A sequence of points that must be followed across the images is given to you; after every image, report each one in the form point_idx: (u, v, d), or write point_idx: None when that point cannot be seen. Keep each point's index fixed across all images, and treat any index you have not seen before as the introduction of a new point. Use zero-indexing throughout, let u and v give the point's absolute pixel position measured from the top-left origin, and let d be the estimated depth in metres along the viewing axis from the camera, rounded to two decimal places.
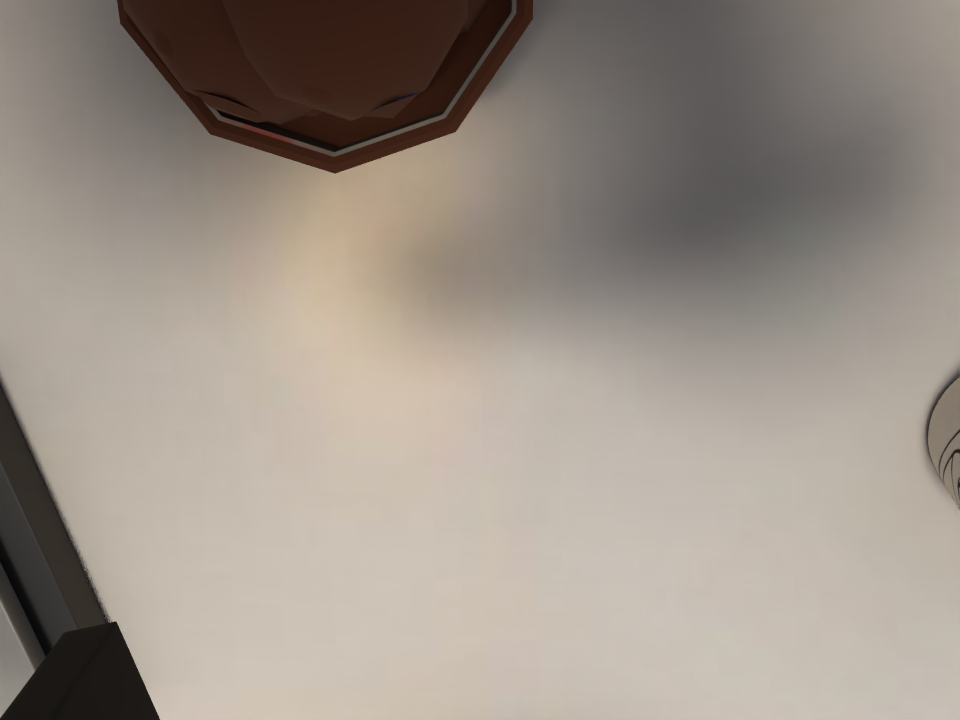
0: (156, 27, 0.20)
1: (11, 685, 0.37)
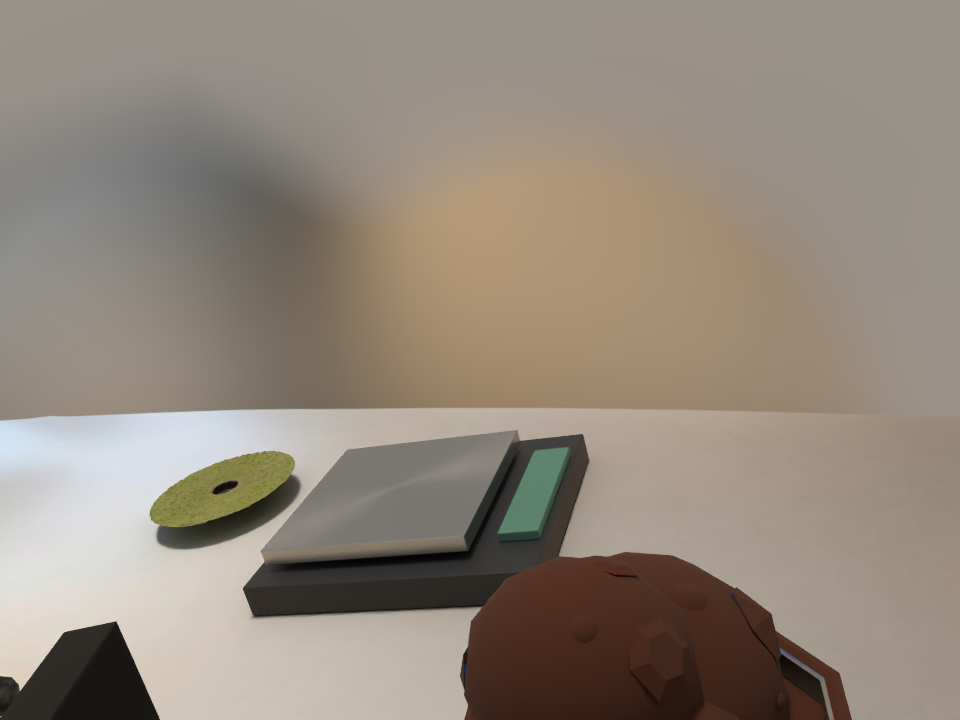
0: None
1: (316, 535, 0.53)
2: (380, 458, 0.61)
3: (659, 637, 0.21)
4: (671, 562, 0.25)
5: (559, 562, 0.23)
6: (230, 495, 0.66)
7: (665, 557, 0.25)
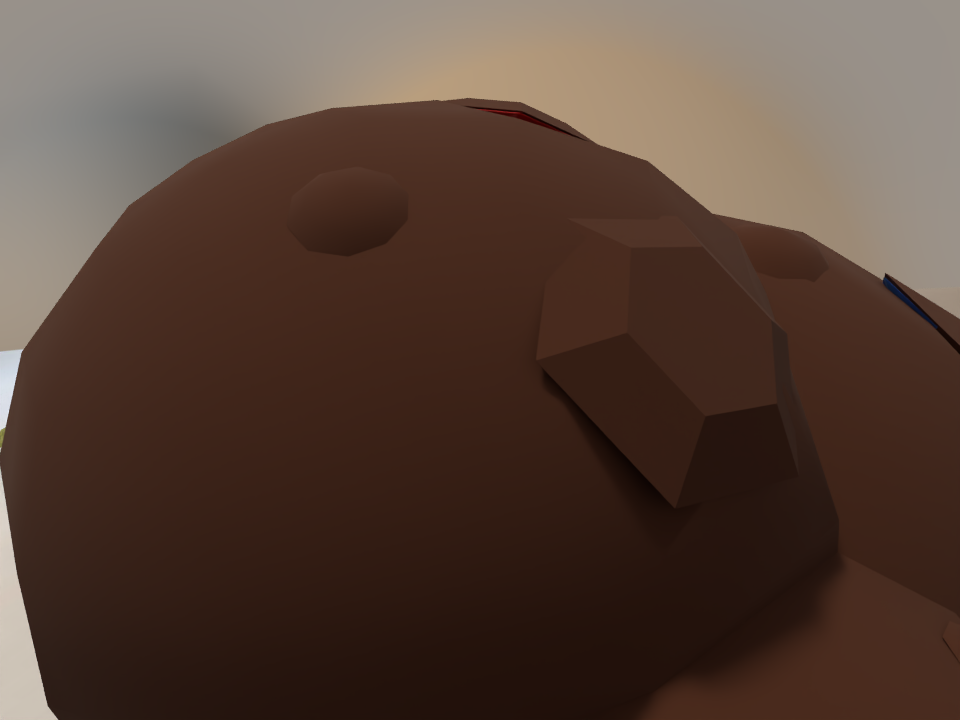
0: None
1: None
2: None
3: (675, 265, 0.05)
4: None
5: None
6: None
7: None
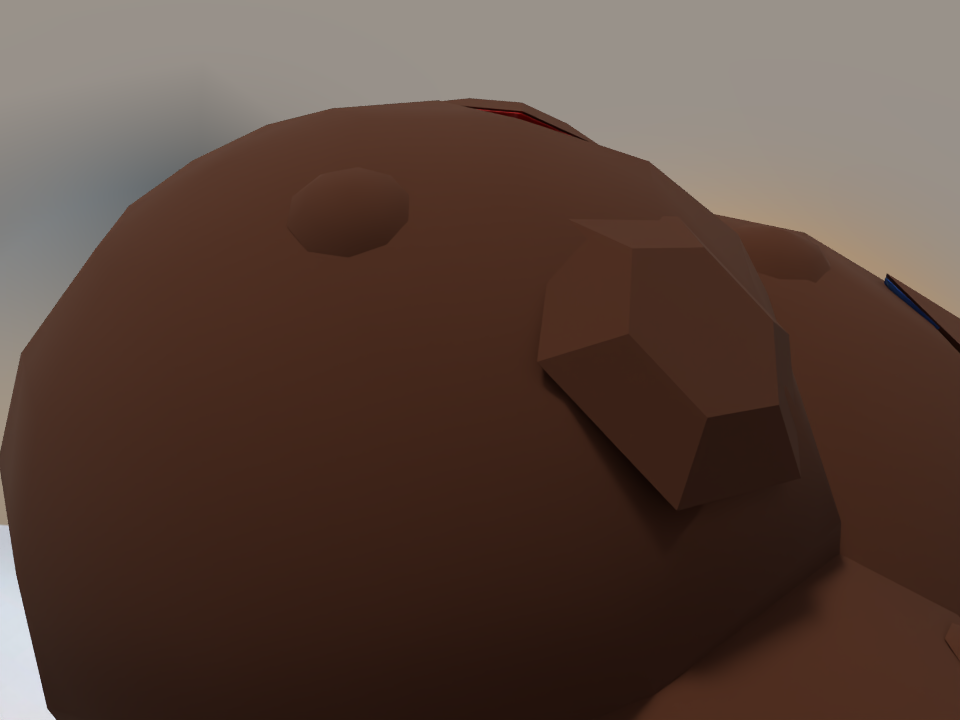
0: None
1: None
2: None
3: (678, 265, 0.05)
4: None
5: None
6: None
7: None
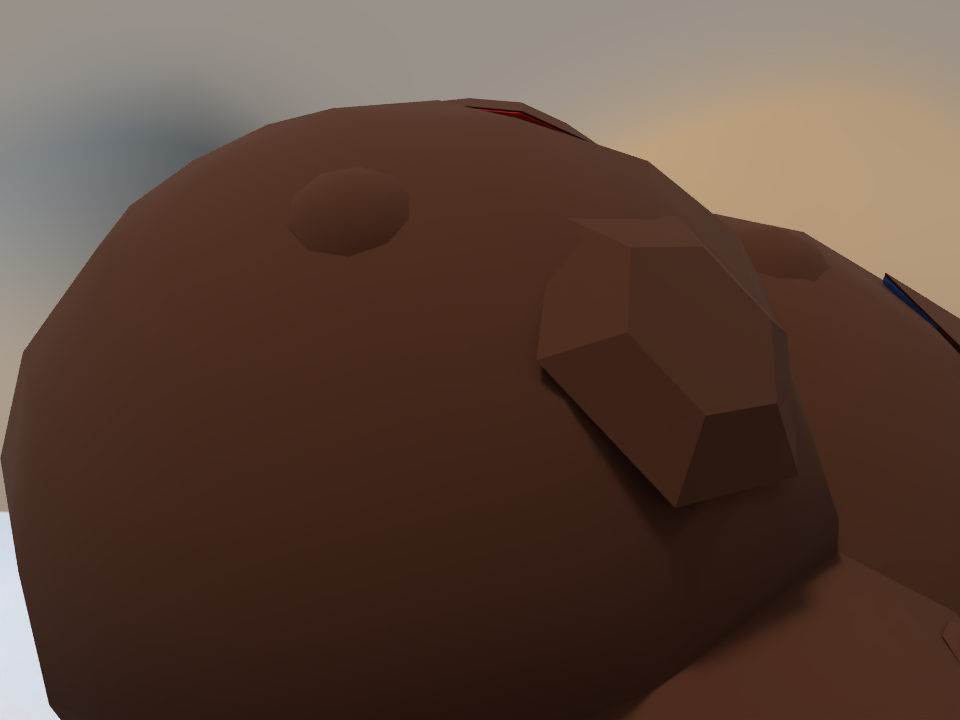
0: None
1: None
2: None
3: (675, 265, 0.05)
4: None
5: None
6: None
7: None
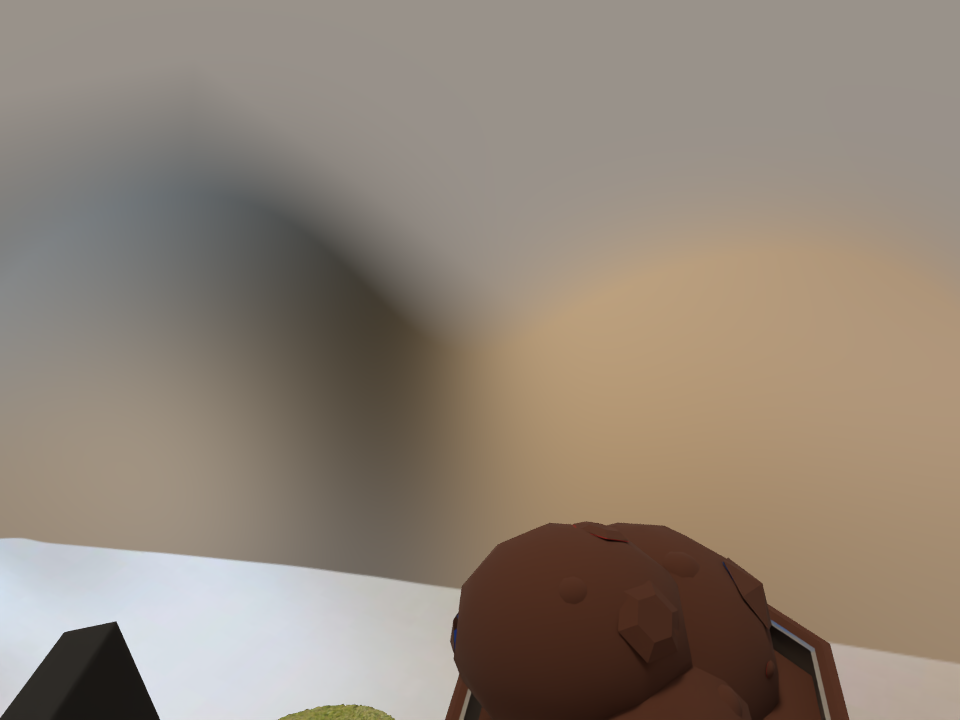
0: None
1: None
2: None
3: (648, 600, 0.21)
4: (663, 531, 0.25)
5: (550, 527, 0.23)
6: None
7: (657, 527, 0.25)
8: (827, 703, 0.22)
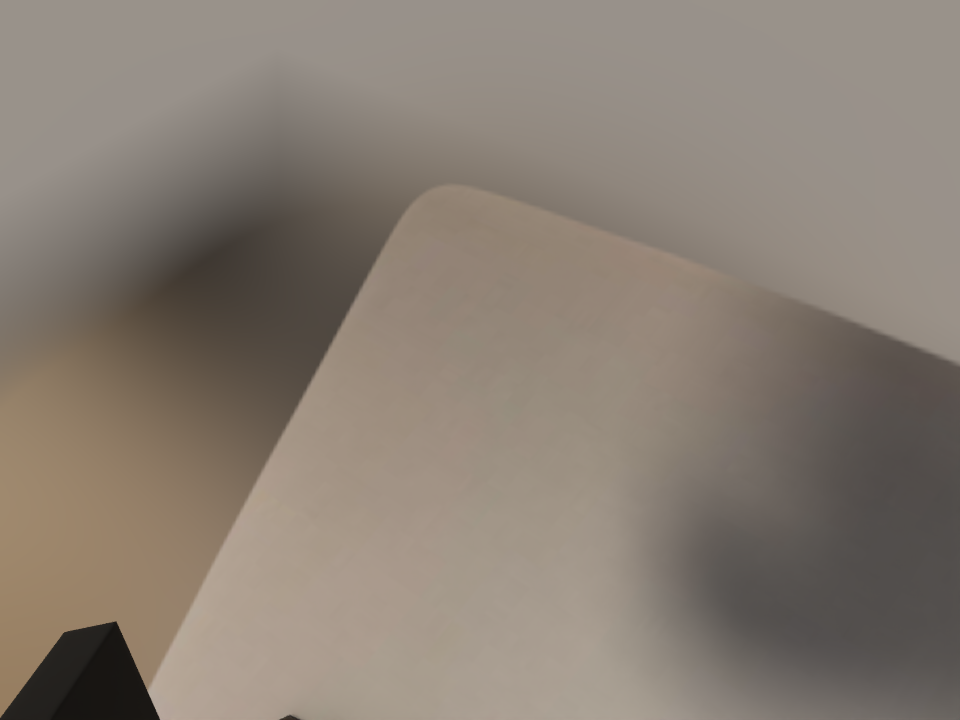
0: None
1: None
2: None
3: None
4: None
5: None
6: None
7: None
8: None
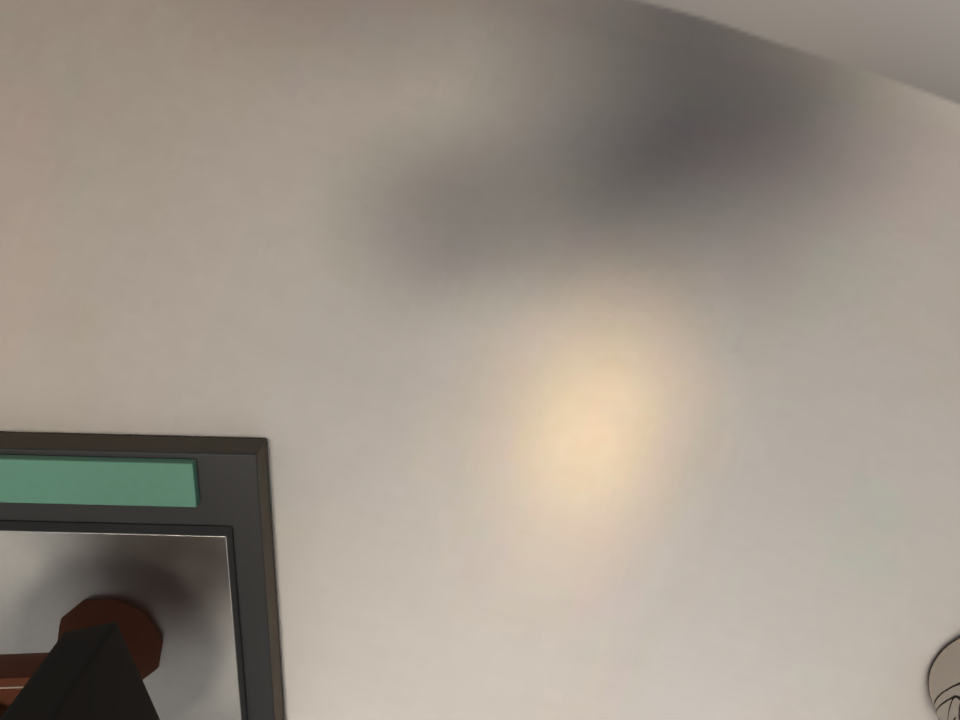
0: None
1: (216, 697, 0.47)
2: None
3: None
4: None
5: None
6: None
7: None
8: (3, 686, 0.36)
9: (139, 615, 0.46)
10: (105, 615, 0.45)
